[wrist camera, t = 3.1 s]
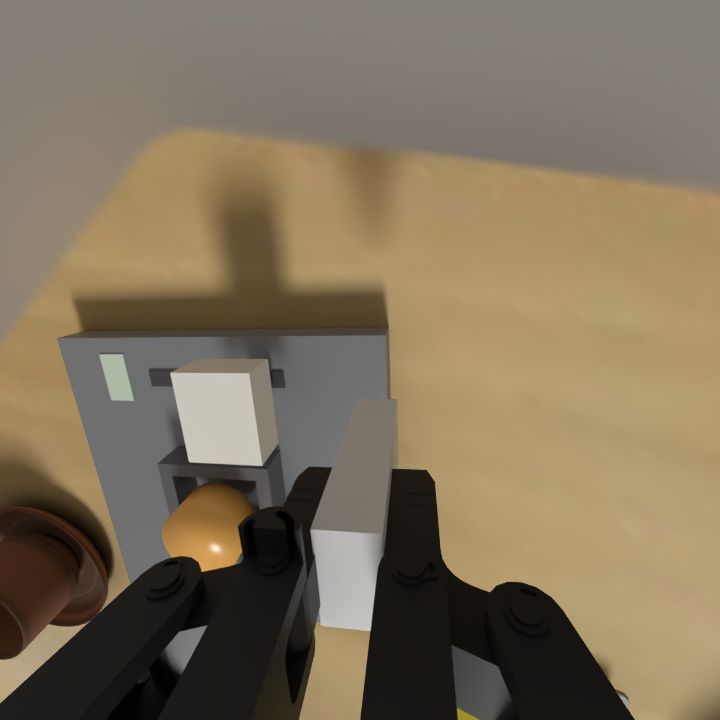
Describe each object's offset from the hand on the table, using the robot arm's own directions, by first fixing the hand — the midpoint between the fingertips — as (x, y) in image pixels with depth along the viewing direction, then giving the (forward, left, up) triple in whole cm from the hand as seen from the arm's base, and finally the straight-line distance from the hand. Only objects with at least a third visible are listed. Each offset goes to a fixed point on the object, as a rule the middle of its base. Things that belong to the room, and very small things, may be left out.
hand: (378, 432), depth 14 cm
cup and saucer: (+29, +17, -9) cm, 35 cm away
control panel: (+10, +8, -8) cm, 15 cm away
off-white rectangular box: (+7, 0, -6) cm, 10 cm away
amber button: (+10, +8, -4) cm, 14 cm away
